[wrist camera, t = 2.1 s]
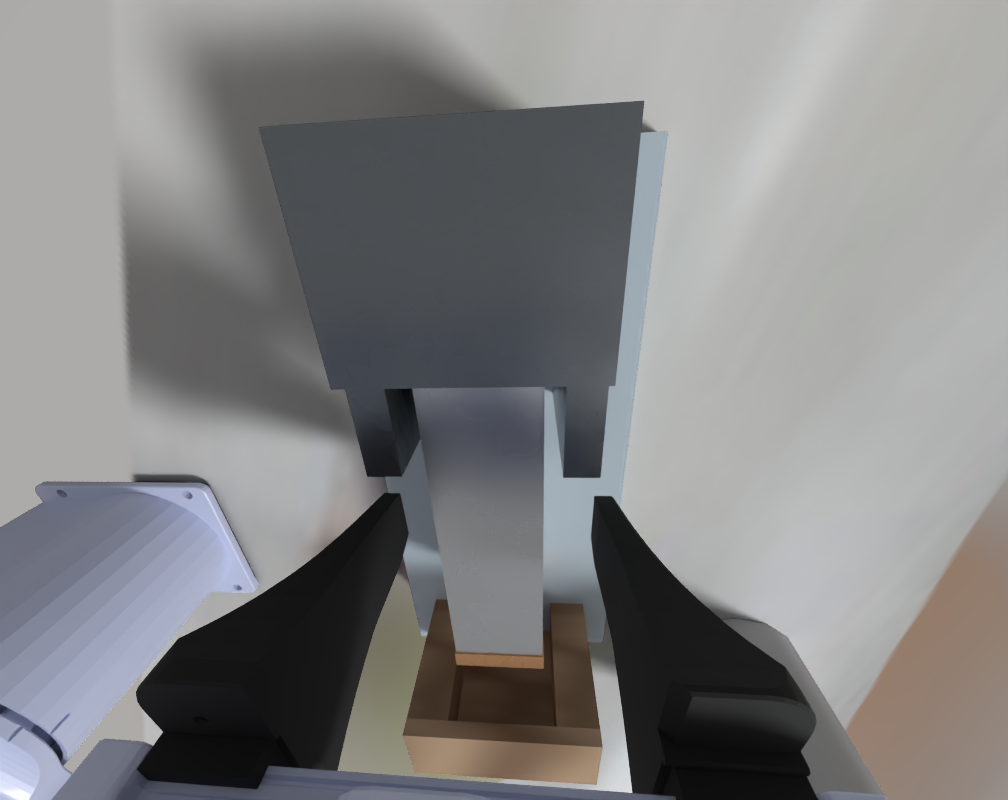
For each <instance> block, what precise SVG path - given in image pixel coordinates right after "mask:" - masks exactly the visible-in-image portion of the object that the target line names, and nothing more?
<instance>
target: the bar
mask: <svg viewBox="0 0 1008 800" xmlns="http://www.w3.org/2000/svg"><path fill="white" fill-rule="evenodd" d="M412 391H413V397H414V403H415V408H416V414H417V420H418V426H419V432H420V438H421V444H422V450H423V456H424V462H425V468H426V474H427V480H428V486H429V492H430V498H431V504H432V510H433V516H434V522H435V528H436V534H437V540H438V546H439V552H440V558H441V564H442V570H443V576H444V582H445V588H446V594H447V600H448V606H449V612H450V618H451V624H452V630H453V636H454V642H455V648H456V650H455V658H456V663H457V665H467V666H490V667H512V668H535V669H544V650H543V525H544V401H545V387H496V388H413V389H412Z"/></svg>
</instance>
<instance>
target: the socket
mask: <svg viewBox="0 0 1008 800" xmlns="http://www.w3.org/2000/svg"><path fill="white" fill-rule="evenodd" d="M455 650H456V648H455V642H454V636H453V630H452V624H451V618H450V612H449V606H448V600H441V599H436V601H435V605H434V610H433V614H432V618H431V622H430V626H429V630H428V634H427V638H426V642H425V646H424V650H423V655H422V659H421V663H420V667H419V671H418V675H417V679H416V683H415V687H414V691H413V696H412V700H411V704H410V708H409V712H408V716H407V720H406V724H405V728H404V732H403V738H404V741H405V744H406V747H407V750H408V753H409V756H410V759H411V762H412V765H413V768H414V771H415V773H429V774H443V775H458V776H473V777H490V778H503V779H518V780H533V781H548V782H563V783H578V784H593V785H597V778H598V772H599V766H600V760H601V754H602V740H601V733H600V725H599V718H598V711H597V704H596V696H595V689H594V682H593V674H592V667H591V660H590V653H589V645H588V638H587V631H586V623H585V616H584V609H583V604H570V603H550V631H549V630H543V650H544V669H535V668H512V667H490V666H467V665H457V663H456V658H455Z"/></svg>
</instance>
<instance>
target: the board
mask: <svg viewBox="0 0 1008 800" xmlns="http://www.w3.org/2000/svg"><path fill="white" fill-rule="evenodd" d="M667 136H668V131H660V132H644V133H641V138H640V148H639V157H638V167H637V177H636V187H635V197H634V207H633V217H632V227H631V236H630V246H629V256H628V266H627V276H626V286H625V296H624V305H623V315H622V325H621V335H620V345H619V355H618V365H617V375H616V384H615V386H609V392H608V403H607V413H606V424H605V435H604V446H603V456H602V467H601V478H563V472H562V465H561V457H560V449H559V441H558V433H557V426H556V418H555V410H554V402H553V394H552V387H545V401H544V525H543V630H549V631H550V603H570V604H583V609H584V616H585V623H586V631H587V638H588V642H594V643H603V636H604V629H605V621H606V611H605V607H604V603H603V599H602V595H601V591H600V587H599V582H598V578H597V574H596V570H595V566H594V559H593V551H592V543H591V529H592V517H593V506H594V496H612V497H613V498H614V499H615V501H616V502H617V504H618V505H619V507H620V504H621V496H622V488H623V480H624V472H625V465H626V457H627V449H628V441H629V433H630V425H631V418H632V410H633V402H634V394H635V386H636V379H637V371H638V363H639V355H640V347H641V340H642V332H643V324H644V316H645V308H646V301H647V293H648V285H649V277H650V269H651V261H652V254H653V246H654V238H655V230H656V222H657V215H658V207H659V199H660V191H661V183H662V176H663V168H664V160H665V152H666V144H667ZM385 480H386V484H387V488H388V493H400V494H401V499H402V503H403V508H404V513H405V517H406V522H407V527H408V531H409V535H408V539H407V543H406V547H405V550H404V554H403V558H404V562H405V566H406V571H407V575H408V579H409V584H410V588H411V593H412V597H413V601H414V605H415V610H416V614H417V619H418V623H419V627H420V632H421V636H427V634H428V630H429V626H430V622H431V618H432V614H433V610H434V605H435V601H436V599H441V600H447V594H446V588H445V582H444V576H443V570H442V564H441V558H440V552H439V546H438V540H437V534H436V528H435V522H434V516H433V510H432V504H431V498H430V492H429V486H428V480H427V474H426V468H425V462H424V456H423V450H422V444H421V439H420V441H419V443H418V445H417V447H416V449H415V451H414V453H413V455H412V457H411V459H410V461H409V463H408V466H407V468H406V470H405V472H404V474H403V476H402V477H385Z"/></svg>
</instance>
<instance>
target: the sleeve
mask: <svg viewBox="0 0 1008 800" xmlns="http://www.w3.org/2000/svg"><path fill="white" fill-rule="evenodd" d="M643 108H644V101H634V102H619V103H605V104H590V105H575V106H560V107H546V108H531V109H516V110H501V111H487V112H472V113H457V114H442V115H428V116H413V117H398V118H383V119H369V120H354V121H339V122H324V123H310V124H295V125H280V126H265V127H259V130H260V133H261V137H262V140H263V144H264V148H265V151H266V155H267V159H268V162H269V166H270V170H271V173H272V177H273V180H274V184H275V188H276V191H277V195H278V199H279V202H280V206H281V210H282V213H283V217H284V221H285V224H286V228H287V231H288V235H289V239H290V242H291V246H292V250H293V253H294V257H295V261H296V264H297V268H298V271H299V275H300V279H301V282H302V286H303V290H304V293H305V297H306V301H307V304H308V308H309V311H310V315H311V319H312V322H313V326H314V330H315V333H316V337H317V341H318V344H319V348H320V351H321V355H322V359H323V362H324V366H325V370H326V373H327V377H328V381H329V384H330V388H331V389H345V391H346V394H347V398H348V402H349V406H350V410H351V414H352V418H353V422H354V426H355V430H356V434H357V437H358V441H359V445H360V449H361V453H362V457H363V461H364V465H365V469H366V473H367V477H402V476H403V474H404V472H405V470H406V468H407V466H408V463H409V461H410V459H411V457H412V455H413V453H414V451H415V449H416V447H417V445H418V443H419V441H420V439H421V438H420V432H419V426H418V420H417V414H416V408H415V403H414V397H413V391H412V389H413V388H496V387H552V394H553V402H554V410H555V418H556V426H557V433H558V441H559V449H560V457H561V465H562V472H563V478H601V467H602V456H603V446H604V435H605V424H606V413H607V403H608V392H609V386H615V384H616V375H617V365H618V355H619V345H620V335H621V325H622V315H623V305H624V296H625V286H626V276H627V266H628V256H629V246H630V236H631V227H632V217H633V207H634V197H635V187H636V177H637V167H638V157H639V148H640V138H641V128H642V118H643Z"/></svg>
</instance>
